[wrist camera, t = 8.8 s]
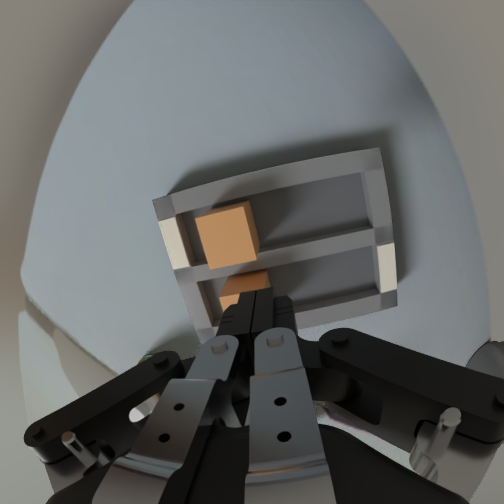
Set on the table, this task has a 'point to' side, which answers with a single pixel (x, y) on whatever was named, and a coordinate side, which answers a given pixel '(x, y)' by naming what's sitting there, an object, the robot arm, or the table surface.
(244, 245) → the tan square block
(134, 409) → the supplement bottle
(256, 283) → the orange rectangular block
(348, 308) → the tray
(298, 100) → the table surface
